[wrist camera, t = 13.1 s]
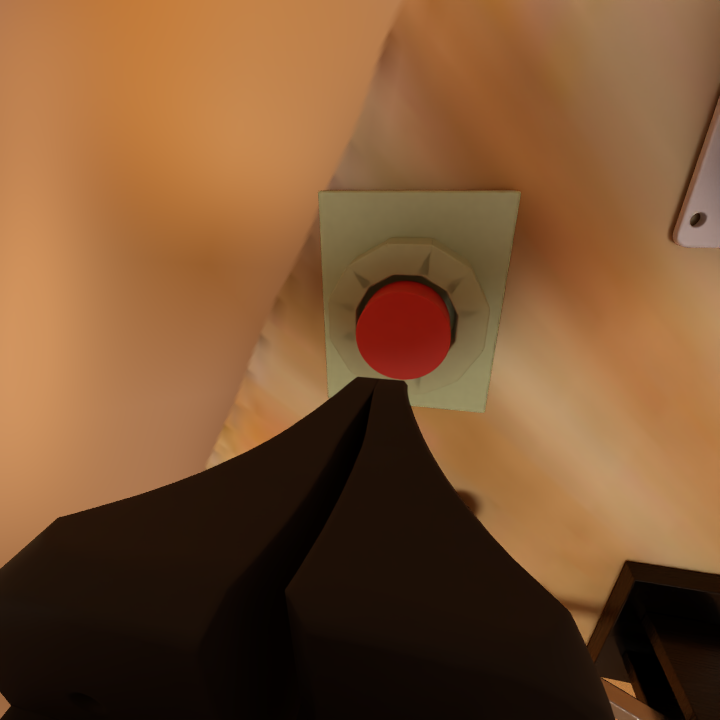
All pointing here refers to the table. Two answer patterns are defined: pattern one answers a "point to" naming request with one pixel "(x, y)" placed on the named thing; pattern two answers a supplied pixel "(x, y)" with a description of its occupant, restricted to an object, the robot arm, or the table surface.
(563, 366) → the table surface
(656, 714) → the lever
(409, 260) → the button block
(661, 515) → the table surface
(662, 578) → the bracket
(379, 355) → the button
